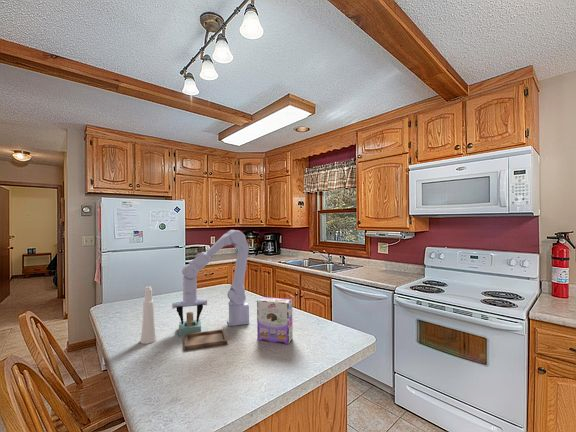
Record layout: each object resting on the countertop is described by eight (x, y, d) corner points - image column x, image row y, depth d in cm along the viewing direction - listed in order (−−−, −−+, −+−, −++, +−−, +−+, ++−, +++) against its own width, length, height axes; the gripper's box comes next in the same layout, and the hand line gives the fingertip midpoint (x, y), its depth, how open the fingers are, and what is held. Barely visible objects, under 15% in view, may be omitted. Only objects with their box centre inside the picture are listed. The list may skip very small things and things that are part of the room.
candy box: (293, 338, 117) (293, 298, 117) (288, 344, 111) (288, 303, 112) (262, 334, 122) (262, 296, 122) (256, 340, 116) (256, 299, 116)
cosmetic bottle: (138, 344, 112) (138, 289, 112) (142, 338, 118) (142, 285, 118) (155, 343, 113) (155, 288, 113) (157, 336, 119) (157, 284, 119)
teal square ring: (200, 325, 131) (200, 319, 131) (201, 333, 123) (200, 326, 123) (179, 328, 128) (179, 321, 128) (178, 336, 120) (178, 329, 120)
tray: (224, 332, 123) (224, 328, 123) (227, 344, 112) (227, 340, 112) (184, 337, 118) (184, 333, 118) (184, 350, 107) (184, 346, 107)
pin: (193, 329, 127) (193, 311, 127) (193, 331, 125) (193, 313, 125) (186, 330, 126) (186, 312, 126) (186, 332, 124) (186, 314, 124)
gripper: (206, 288, 132) (206, 317, 132) (172, 291, 127) (172, 321, 127) (207, 292, 125) (207, 323, 125) (171, 295, 120) (171, 327, 120)
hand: (189, 322), depth 125 cm, fingers open, 6 cm apart
